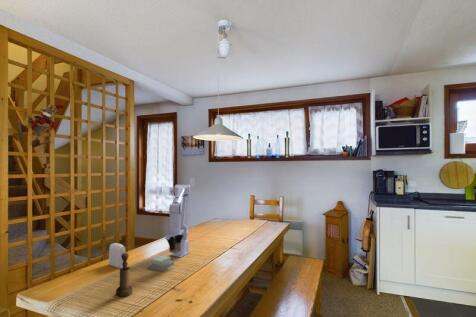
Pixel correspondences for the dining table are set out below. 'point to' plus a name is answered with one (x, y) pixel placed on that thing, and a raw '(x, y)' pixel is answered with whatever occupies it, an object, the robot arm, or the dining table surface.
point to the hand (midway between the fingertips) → (174, 248)
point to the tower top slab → (161, 260)
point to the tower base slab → (160, 266)
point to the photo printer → (116, 255)
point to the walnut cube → (176, 248)
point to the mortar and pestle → (124, 279)
